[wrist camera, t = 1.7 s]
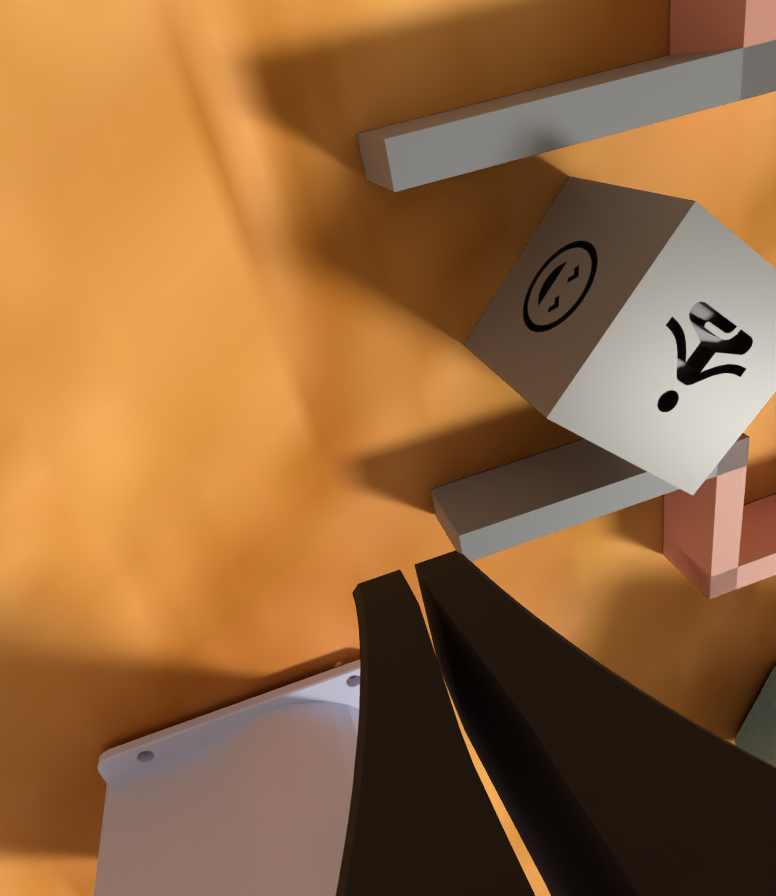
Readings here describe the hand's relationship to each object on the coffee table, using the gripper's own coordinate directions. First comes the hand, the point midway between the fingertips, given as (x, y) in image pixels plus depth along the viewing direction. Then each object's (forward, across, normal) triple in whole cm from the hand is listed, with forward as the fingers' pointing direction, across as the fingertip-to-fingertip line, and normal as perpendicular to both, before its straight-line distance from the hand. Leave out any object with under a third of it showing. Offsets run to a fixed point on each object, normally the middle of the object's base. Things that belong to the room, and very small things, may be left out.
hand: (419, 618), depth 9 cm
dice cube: (+10, -8, 0) cm, 12 cm away
